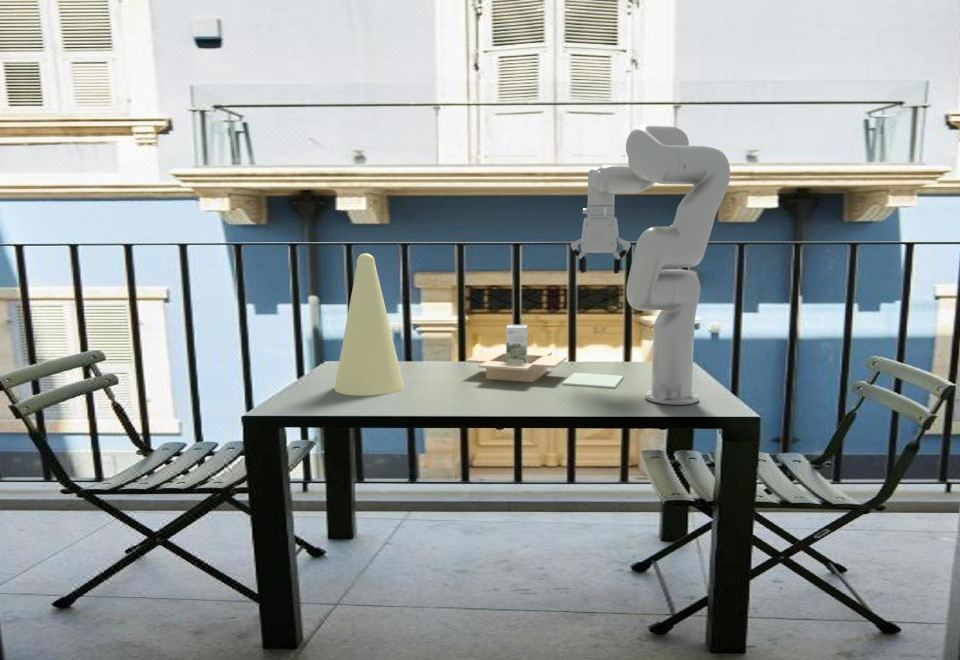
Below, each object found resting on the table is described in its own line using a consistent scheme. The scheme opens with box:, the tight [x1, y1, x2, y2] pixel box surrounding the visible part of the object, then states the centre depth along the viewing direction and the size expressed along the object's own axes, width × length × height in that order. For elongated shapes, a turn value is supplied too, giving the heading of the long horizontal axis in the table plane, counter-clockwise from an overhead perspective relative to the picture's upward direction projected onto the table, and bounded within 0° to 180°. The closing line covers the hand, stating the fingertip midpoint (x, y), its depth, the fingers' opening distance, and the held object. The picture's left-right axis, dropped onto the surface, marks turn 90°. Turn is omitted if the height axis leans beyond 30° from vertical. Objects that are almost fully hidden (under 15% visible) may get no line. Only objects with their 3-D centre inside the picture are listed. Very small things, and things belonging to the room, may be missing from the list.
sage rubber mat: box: [562, 372, 624, 389], centre depth 192 cm, size 14×14×1 cm
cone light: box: [333, 253, 405, 397], centre depth 187 cm, size 25×18×35 cm
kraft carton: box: [465, 350, 568, 383], centre depth 199 cm, size 26×26×5 cm
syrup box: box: [505, 324, 529, 363], centre depth 199 cm, size 6×6×14 cm
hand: (599, 272), depth 202 cm, fingers open, 9 cm apart
